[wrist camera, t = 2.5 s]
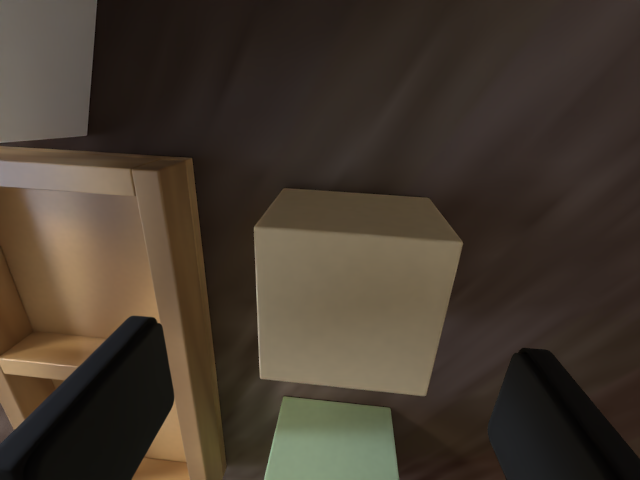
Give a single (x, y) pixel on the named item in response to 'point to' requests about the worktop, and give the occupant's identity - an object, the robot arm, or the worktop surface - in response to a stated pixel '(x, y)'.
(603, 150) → the worktop surface
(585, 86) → the worktop surface
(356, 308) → the tan block
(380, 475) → the green block
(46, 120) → the milk
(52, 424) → the robot arm
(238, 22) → the worktop surface
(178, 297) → the divided wooden tray
